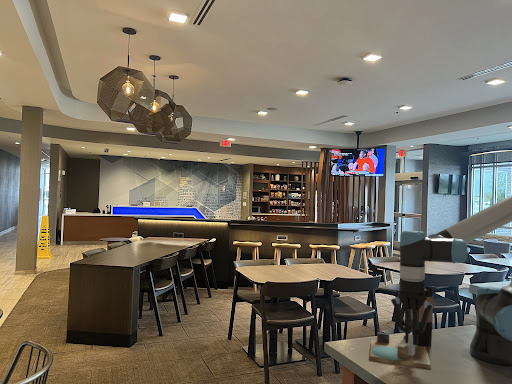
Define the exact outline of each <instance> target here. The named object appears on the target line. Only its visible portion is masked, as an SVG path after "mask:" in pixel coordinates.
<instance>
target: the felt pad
mask: <svg viewBox="0 0 512 384" xmlns="http://www.w3.org/2000/svg"><path fill="white" fill-rule="evenodd" d="M372 353H373V354H375V355H376V356H378V357H381V358H383V359H387V360H403V358H399V357H397V353H398V349H396V348H391V347H376V348H374V349H372Z"/></svg>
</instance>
